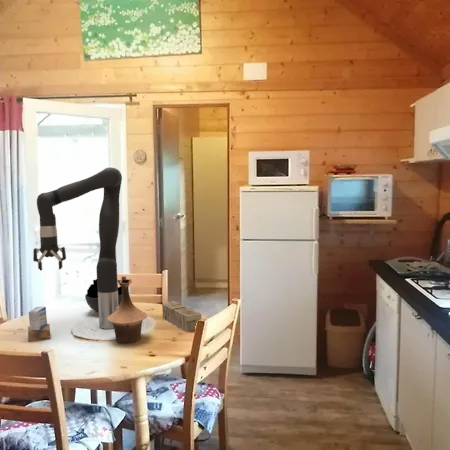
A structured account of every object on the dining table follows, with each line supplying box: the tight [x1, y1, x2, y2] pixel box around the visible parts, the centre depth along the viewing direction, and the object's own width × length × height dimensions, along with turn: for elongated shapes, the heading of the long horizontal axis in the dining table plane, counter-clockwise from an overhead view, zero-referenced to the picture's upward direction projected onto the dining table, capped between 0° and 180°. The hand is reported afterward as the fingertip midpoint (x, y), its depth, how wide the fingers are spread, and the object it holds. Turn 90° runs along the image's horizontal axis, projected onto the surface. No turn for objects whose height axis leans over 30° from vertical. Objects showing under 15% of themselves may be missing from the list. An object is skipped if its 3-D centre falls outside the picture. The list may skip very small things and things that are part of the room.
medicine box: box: [28, 306, 48, 330], centre depth 217 cm, size 8×4×9 cm, turn 176°
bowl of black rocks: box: [84, 278, 122, 314], centre depth 256 cm, size 20×20×19 cm
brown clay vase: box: [107, 275, 148, 345], centre depth 212 cm, size 18×17×28 cm
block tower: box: [161, 300, 202, 333], centre depth 235 cm, size 8×8×29 cm
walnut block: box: [27, 323, 51, 343], centre depth 218 cm, size 9×9×5 cm
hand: (50, 269), depth 229 cm, fingers open, 8 cm apart
